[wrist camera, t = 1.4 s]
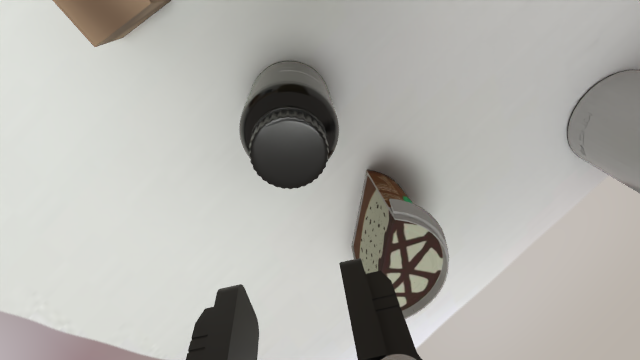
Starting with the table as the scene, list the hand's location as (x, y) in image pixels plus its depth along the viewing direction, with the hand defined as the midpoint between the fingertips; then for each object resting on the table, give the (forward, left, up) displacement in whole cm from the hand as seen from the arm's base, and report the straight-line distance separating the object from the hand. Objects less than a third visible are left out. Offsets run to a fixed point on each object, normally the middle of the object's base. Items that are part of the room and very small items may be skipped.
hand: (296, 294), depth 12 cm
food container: (-7, +14, -23) cm, 28 cm away
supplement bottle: (0, 0, -23) cm, 23 cm away
